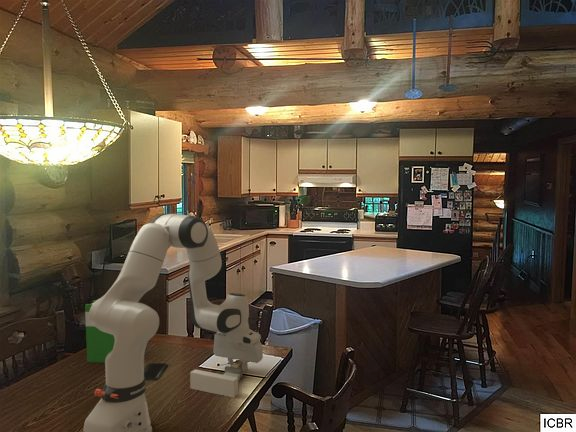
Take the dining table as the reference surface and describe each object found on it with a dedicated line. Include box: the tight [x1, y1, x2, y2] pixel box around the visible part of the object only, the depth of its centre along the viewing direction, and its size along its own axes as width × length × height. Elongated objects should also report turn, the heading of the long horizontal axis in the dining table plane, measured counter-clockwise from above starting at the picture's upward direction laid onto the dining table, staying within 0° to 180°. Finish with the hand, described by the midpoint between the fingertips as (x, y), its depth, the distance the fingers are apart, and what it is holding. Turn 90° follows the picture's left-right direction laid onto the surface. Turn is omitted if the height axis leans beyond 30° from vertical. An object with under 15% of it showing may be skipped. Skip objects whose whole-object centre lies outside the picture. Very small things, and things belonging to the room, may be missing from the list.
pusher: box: [224, 360, 249, 380], centre depth 188 cm, size 9×7×4 cm
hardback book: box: [84, 299, 115, 363], centre depth 202 cm, size 18×7×24 cm, turn 85°
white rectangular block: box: [189, 368, 239, 399], centre depth 175 cm, size 9×18×6 cm, turn 66°
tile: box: [222, 372, 241, 381], centre depth 182 cm, size 6×6×2 cm
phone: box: [144, 362, 169, 382], centre depth 189 cm, size 8×1×15 cm
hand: (237, 369), depth 188 cm, fingers closed on pusher, 3 cm apart
